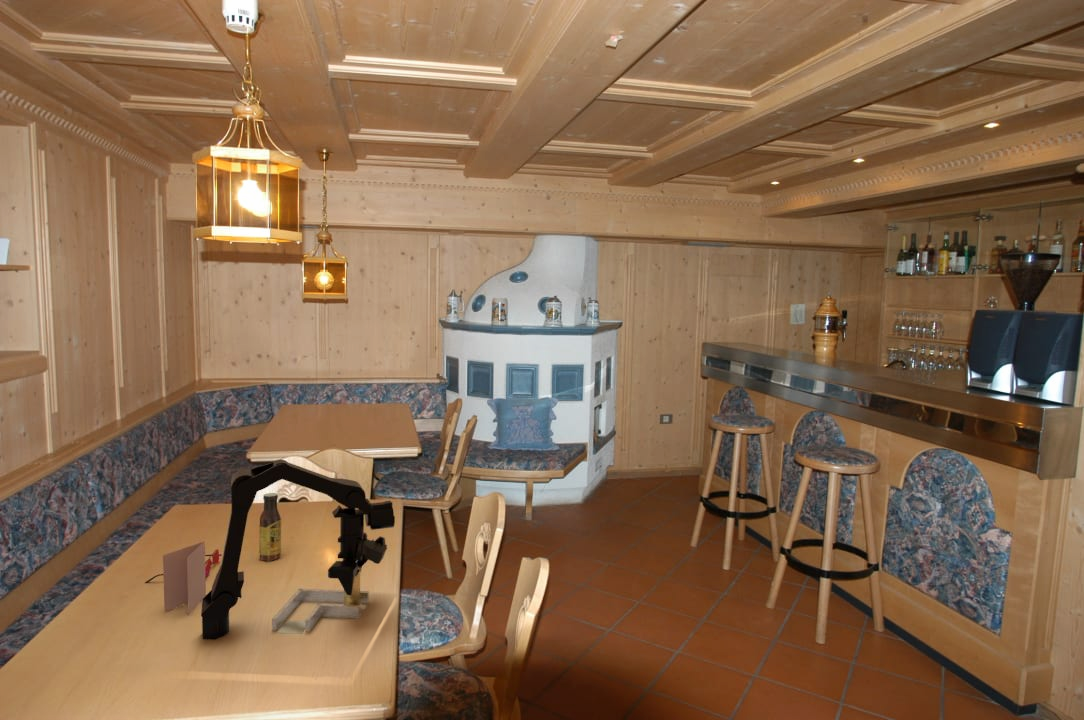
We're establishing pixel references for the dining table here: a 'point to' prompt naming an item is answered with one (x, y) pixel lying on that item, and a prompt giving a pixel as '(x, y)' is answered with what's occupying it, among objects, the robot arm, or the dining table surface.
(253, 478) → the robot arm
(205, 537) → the dining table surface
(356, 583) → the brass peg
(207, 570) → the glasses
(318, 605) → the steel rails
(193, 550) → the greeting card
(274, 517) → the sauce bottle
